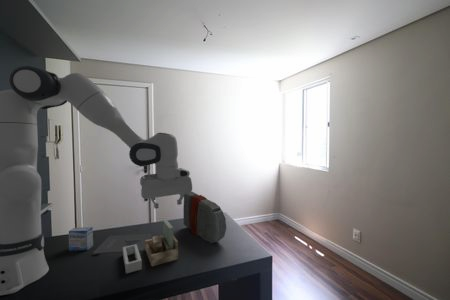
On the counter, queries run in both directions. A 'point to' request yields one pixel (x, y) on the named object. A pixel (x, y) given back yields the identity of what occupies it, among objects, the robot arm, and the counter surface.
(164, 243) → the rack
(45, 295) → the counter surface
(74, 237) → the medicine box
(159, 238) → the offcut pine
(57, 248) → the counter surface
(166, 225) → the block
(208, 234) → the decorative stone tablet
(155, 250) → the offcut walnut
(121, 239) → the play button award
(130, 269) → the holder
